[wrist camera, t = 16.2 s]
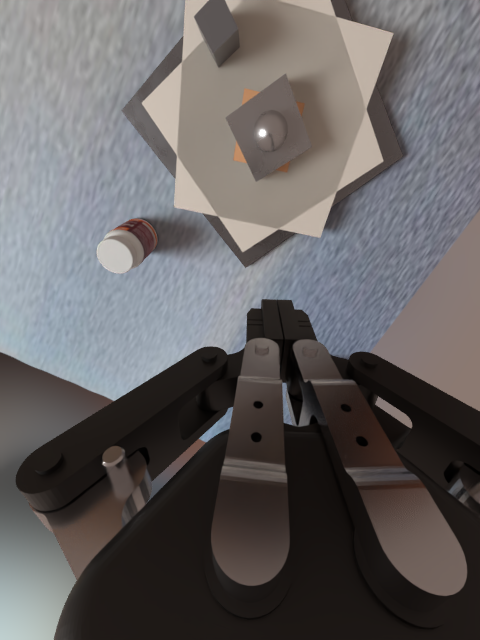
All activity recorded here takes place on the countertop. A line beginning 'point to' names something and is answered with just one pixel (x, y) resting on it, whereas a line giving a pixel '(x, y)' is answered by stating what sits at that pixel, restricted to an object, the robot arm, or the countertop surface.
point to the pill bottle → (127, 246)
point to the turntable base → (169, 157)
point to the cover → (269, 129)
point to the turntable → (250, 79)
